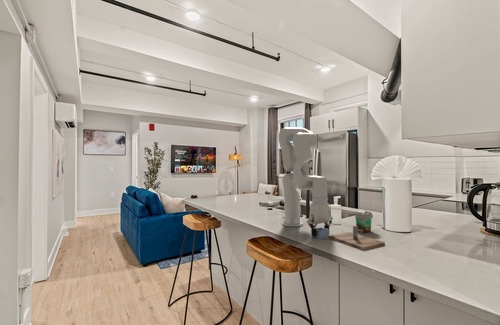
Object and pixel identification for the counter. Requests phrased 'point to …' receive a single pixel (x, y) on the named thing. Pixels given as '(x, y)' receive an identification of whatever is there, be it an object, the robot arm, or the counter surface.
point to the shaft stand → (357, 240)
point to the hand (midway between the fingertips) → (320, 234)
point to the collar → (322, 233)
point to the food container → (364, 222)
